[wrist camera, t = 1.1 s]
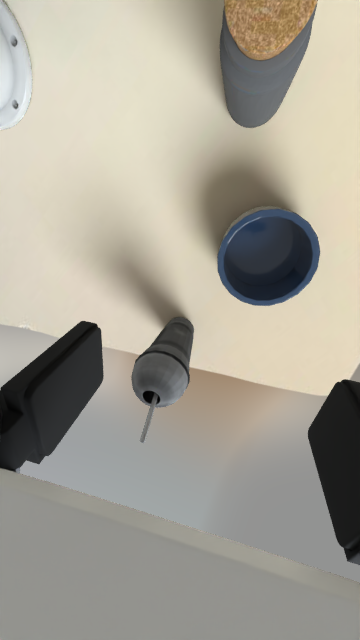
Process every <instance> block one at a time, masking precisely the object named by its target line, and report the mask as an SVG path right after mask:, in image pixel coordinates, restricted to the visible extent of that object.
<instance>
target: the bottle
mask: <svg viewBox="0 0 360 640" xmlns="http://www.w3.org/2000/svg"><path fill="white" fill-rule="evenodd" d="M317 1H318V0H224V11H223V23H222V24H223V25H222V30H221V35H220V61H221V69H222V76H223V83H224V90H225V97H226V102H227V107H228V111H229V113H230V115H231V117H232V118H233V120H234V121H235V122H236V123H237V124H239V125H241V126H243V127H247V128H254V127H257V126H260V125H262V124H264V123H266V122H267V121H268V120H269V119H270V118H271V117H272V116H273V115H274V114H275V113H276V111H277V110H278V108H279V107H280V105H281V103H282V101H283V99H284V97H285V95H286V93H287V91H288V89H289V87H290V84H291V82H292V80H293V78H294V76H295V74H296V72H297V70H298V68H299V65H300V63H301V61H302V59H303V56H304V54H305V52H306V49H307V46H308V43H309V39H310V35H311V29H312V21H313V19H314V15H315V11H316V7H317Z"/></svg>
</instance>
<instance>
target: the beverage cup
mask: <svg viewBox="0 0 360 640" xmlns="http://www.w3.org/2000/svg"><path fill="white" fill-rule="evenodd" d="M193 333H194V328H193V325H192V324H191V322H190V321H188V320H187V319H185V318H181V317H177V318H174V319H172V320H171V321H170V322H169V323H168V324H167V325H166V326H165V328H164V329H163V330H162V331H161V333H160V334H159V335H158V337H157V338H156V339H155V341H154V342H153V343H152V345H151V346H150V347H149V348H148V349H147V350H146V351H145V352H144V353H143V354H141V355H140V356H139V357H138V359H136V361H135V365H134V369H133V372H132V386H133V390H134V392H135V394H136V396H137V397H138V398H139V399H140V400H141V401H142V402H143V403H145V404H146V405H149V406H150V409H149V413H148V416H147V419H146V422H145V426H144V429H143V432H142V435H141V439H140V442H142V443H144V442H145V440H146V436H147V433H148V429H149V426H150V423H151V419H152V416H153V412H154V409H155V407H166V406H168V405H171V404H173V403H174V402H176V401H177V400H178V399H179V398H180V397H181V396H182V394H183V393H184V391H185V390H186V388H187V386H188V384H189V378H190V377H189V376H190V375H189V362H190V356H191V349H192V343H193Z"/></svg>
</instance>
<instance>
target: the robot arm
mask: <svg viewBox="0 0 360 640" xmlns="http://www.w3.org/2000/svg"><path fill="white" fill-rule="evenodd" d="M31 92H32V70H31V61H30V57H29V53H28V49H27V45H26V42H25V40H24V37H23V34H22V31H21V29H20V27H19V25H18V23H17V21H16V19H15V17H14V16H13V14H12V13H11V11H10V10H9V8H8V7H7V5H6V4H5V3H4V2H3V1H2V0H0V130H3V129H8V128H11V127H13V126H15V125H16V124H17V123H18V122H19V121H20V120H21V119H22V118H23V116H24V115H25V113H26V111H27V109H28V106H29V103H30V99H31ZM102 381H103V359H102V339H101V329H100V328H98V326H97V324H95V323H91V322H86V321H81V322H80V323H78V324H77V325H76V326H75V327H74V328H72V329H71V330H70V331H69V332H68V333H66V334H65V335H64V336H63V337H61V338H60V339H59V340H58V341H57V342H55V343H54V344H53V345H52V346H51V347H49V348H48V349H47V350H46V351H45V352H43V353H42V354H41V355H40V356H38V357H37V358H36V359H35V360H34V361H32V362H31V363H30V364H29V365H28V366H27V367H25V368H24V369H23V370H21V371H20V372H19V373H18V374H17V375H15V376H14V377H13V378H12V379H11V380H9V381H8V382H7V383H6V384H5V385H3V386H2V387H1V390H0V640H360V583H359V582H356V581H353V580H350V579H347V578H344V577H341V576H338V575H335V574H332V573H329V572H326V571H323V570H320V569H317V568H314V567H311V566H308V565H305V564H302V563H299V562H296V561H293V560H290V559H287V558H284V557H281V556H278V555H274V554H271V553H268V552H265V551H262V550H259V549H256V548H253V547H250V546H247V545H244V544H241V543H238V542H234V541H231V540H228V539H225V538H222V537H219V536H216V535H213V534H210V533H207V532H204V531H201V530H198V529H195V528H191V527H188V526H185V525H182V524H179V523H176V522H173V521H170V520H166V519H164V518H160V517H157V516H154V515H151V514H148V513H145V512H142V511H139V510H136V509H132V508H129V507H126V506H123V505H120V504H117V503H113V502H110V501H107V500H104V499H101V498H97V497H95V496H91V495H88V494H85V493H82V492H79V491H76V490H72V489H69V488H66V487H63V486H60V485H56V484H53V483H50V482H47V481H43V480H40V479H36V478H33V477H30V476H26V475H23V474H20V467H21V466H22V465H23V463H24V462H25V461H26V460H27V461H30V462H33V463H37V464H40V462H41V461H42V460H43V458H44V457H45V456H49V455H50V454H51V453H52V452H53V451H54V449H55V448H56V446H57V445H58V444H59V442H60V441H61V439H62V438H63V437H64V435H65V433H66V432H67V431H68V429H69V428H70V427H71V425H72V424H73V423H74V421H75V420H76V418H77V417H78V416H79V414H80V413H81V411H82V410H83V409H84V407H85V406H86V404H87V403H88V401H89V400H90V399H91V397H92V396H93V395H94V393H95V392H96V390H97V389H98V388H99V386H100V384H101V383H102ZM308 439H309V442H310V446H311V449H312V453H313V457H314V460H315V463H316V467H317V471H318V474H319V478H320V481H321V485H322V488H323V492H324V496H325V499H326V503H327V506H328V510H329V513H330V517H331V520H332V524H333V527H334V531H335V535H336V538H337V541H338V543H339V544H340V545H341V546H342V547H344V551H345V554H346V558H347V561H349V562H352V563H355V564H358V565H360V383H359V382H355V381H351V380H346V379H345V380H342V381H341V382H337V383H336V384H335V385H334V387H333V389H332V390H331V392H330V394H329V395H328V397H327V399H326V401H325V402H324V404H323V406H322V407H321V409H320V411H319V412H318V414H317V416H316V417H315V419H314V421H313V422H312V424H311V426H310V427H309V430H308Z"/></svg>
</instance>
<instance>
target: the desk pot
mask: <svg viewBox="0 0 360 640" xmlns="http://www.w3.org/2000/svg"><path fill="white" fill-rule="evenodd" d="M319 256H320V248H319V242H318V237H317V235H316V233H315V232H314V230H313V228H312V227H311V225H310V224H309V222H307V221H306V220H304V219H303V218H302V217H300V216H299V215H298V214H296V213H294V212H291V211H289V210H286V209H282V208H279V207H275V206H263V207H257V208H254V209H251V210H249V211H247V212H245V213H243V214H242V215H240V216H239V217H238V218H237V219H236V220H234V221H233V222H232V224H231V225H230V226H229V228H228V229H227V231H226V232H225V234H224V237H223V240H222V243H221V246H220V249H219V252H218V256H217V258H218V273H219V276H220V279H221V281H222V283H223V285H224V286H225V287H226V289H227V290H228V291H229V293H230V294H231V295H233V296H234V297H236V298H237V299H239V300H240V301H242V302H245V303H248V304H252V305H258V306H269V305H274V304H278V303H282V302H284V301H287V300H288V299H290V298H292V297H294V296H295V295H297V294H299V293H300V292H301V291H302V290H303V289H304V288H305V287H306V286H307V285H308V284H309V282H310V281H311V279H312V277H313V275H314V274H315V272H316V270H317V267H318V262H319Z"/></svg>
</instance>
